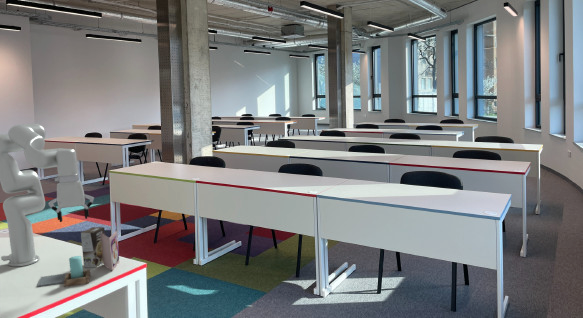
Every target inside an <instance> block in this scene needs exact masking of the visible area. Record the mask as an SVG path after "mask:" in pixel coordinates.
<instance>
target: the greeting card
mask: <svg viewBox="0 0 583 318" xmlns="http://www.w3.org/2000/svg"><path fill="white" fill-rule="evenodd" d="M100 234H101V245H102V255H103V264H104V265H103V264H102V265H103V266H105V267H106V266H107V267H108V268H107V267H106V268H107V269H108V270H110V271H111V270H112V272H114V270H115V269H116V268H117V266H118V265H119V263H120V252H119V251H120V250H119V241H118V232H117V230H115V231H114V232H113V234H112V235H110V237H109V236H107V235H106V234H105V235H104V234H102V233H100ZM117 264H118V265H117ZM114 268H115V269H114Z"/></svg>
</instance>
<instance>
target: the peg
mask: <svg viewBox="0 0 583 318" xmlns="http://www.w3.org/2000/svg"><path fill="white" fill-rule="evenodd" d="M82 258H83V257H82V256H81V255H74V256H71V257H69V258H68V261H69V269H70V270H69V271H70V272H69V273H71V279H75V278H82V277H83V271H84V270H83V259H82Z"/></svg>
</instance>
